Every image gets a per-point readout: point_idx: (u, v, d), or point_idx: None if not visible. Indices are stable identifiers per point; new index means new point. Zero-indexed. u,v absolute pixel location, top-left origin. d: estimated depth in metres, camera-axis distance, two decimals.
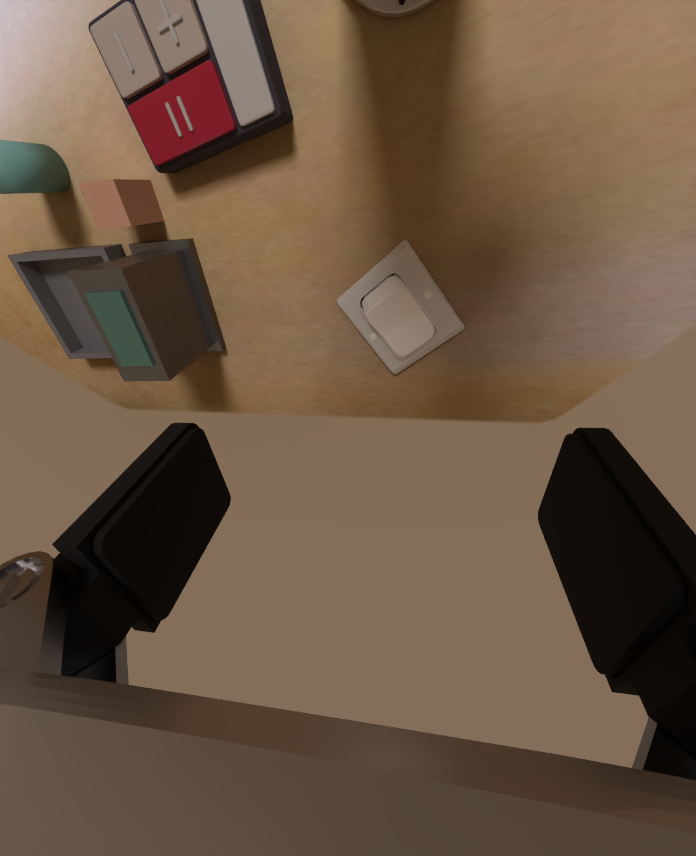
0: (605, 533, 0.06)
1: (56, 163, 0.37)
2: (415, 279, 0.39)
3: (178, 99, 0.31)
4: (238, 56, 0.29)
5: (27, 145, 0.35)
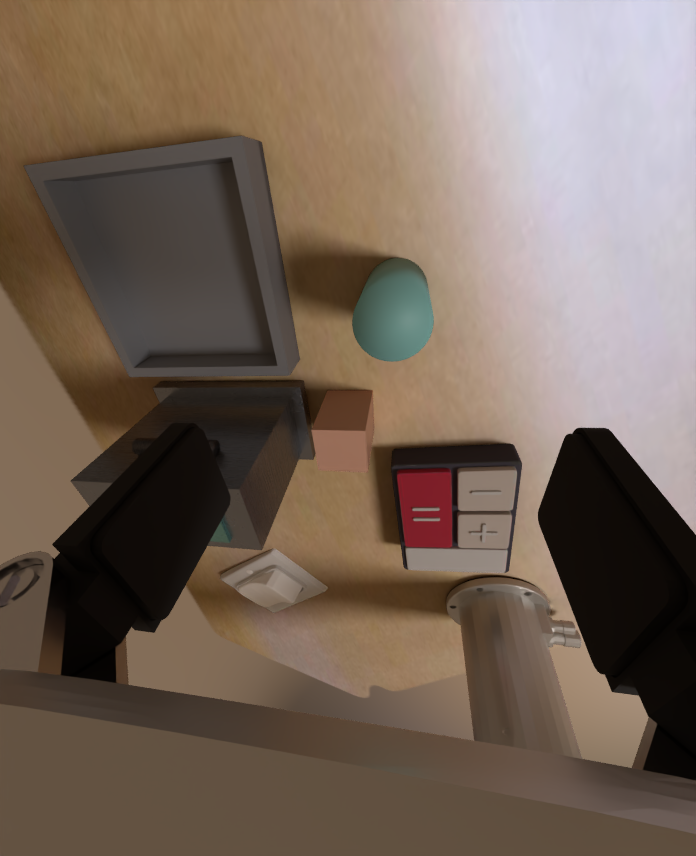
0: (605, 533, 0.06)
1: None
2: (301, 594, 0.50)
3: (437, 517, 0.32)
4: (445, 561, 0.35)
5: None
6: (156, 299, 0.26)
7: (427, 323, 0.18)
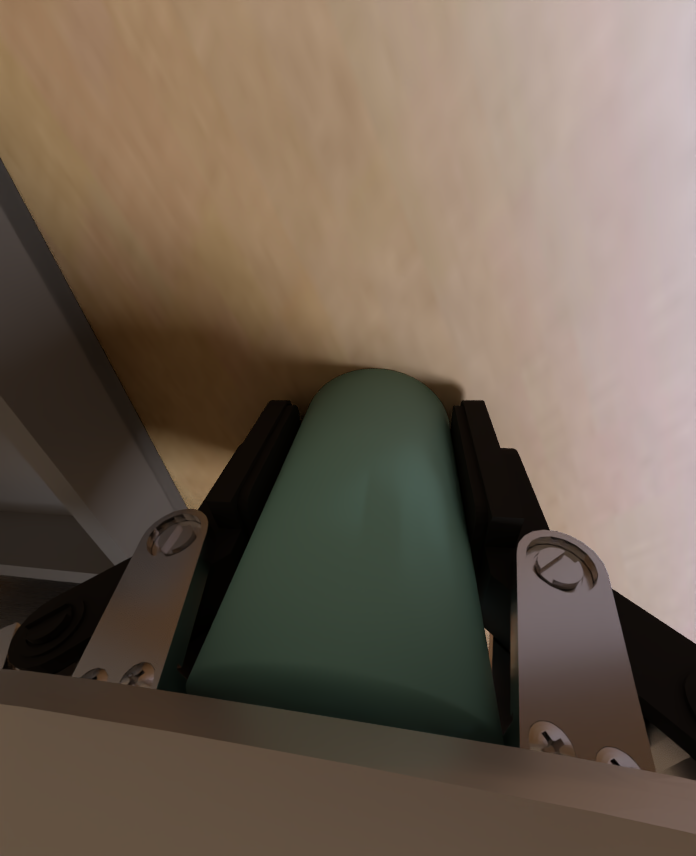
0: (462, 482, 0.07)
1: None
2: None
3: None
4: None
5: None
6: None
7: None
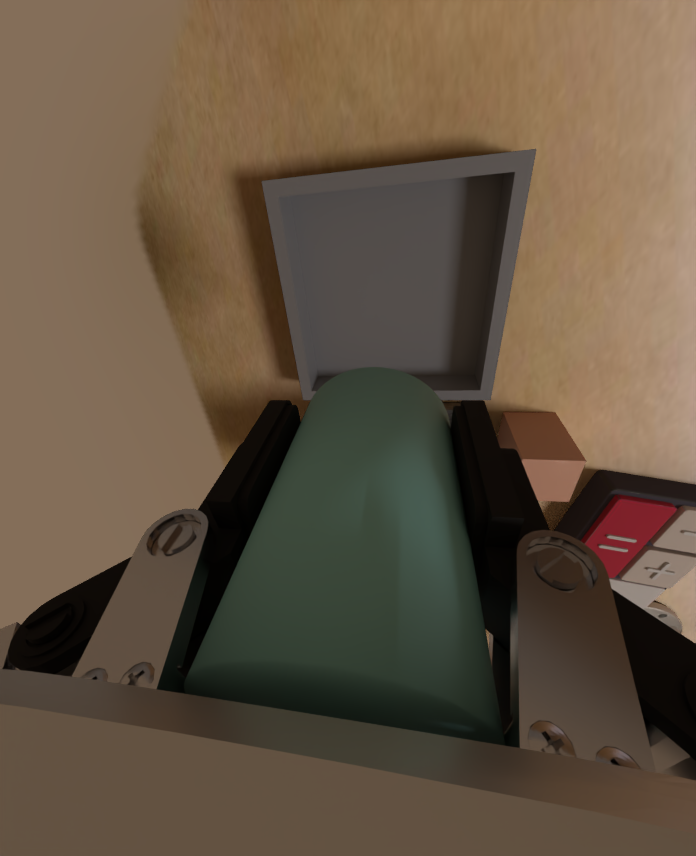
0: (462, 482, 0.07)
1: None
2: None
3: (625, 548, 0.30)
4: None
5: None
6: (344, 318, 0.25)
7: None
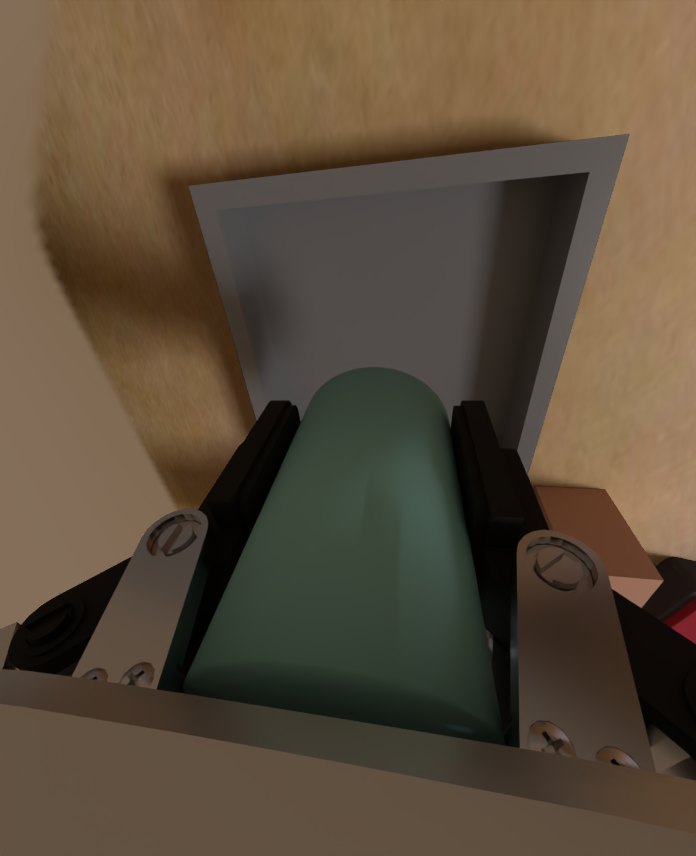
0: (462, 482, 0.07)
1: None
2: None
3: None
4: None
5: None
6: (324, 371, 0.18)
7: None
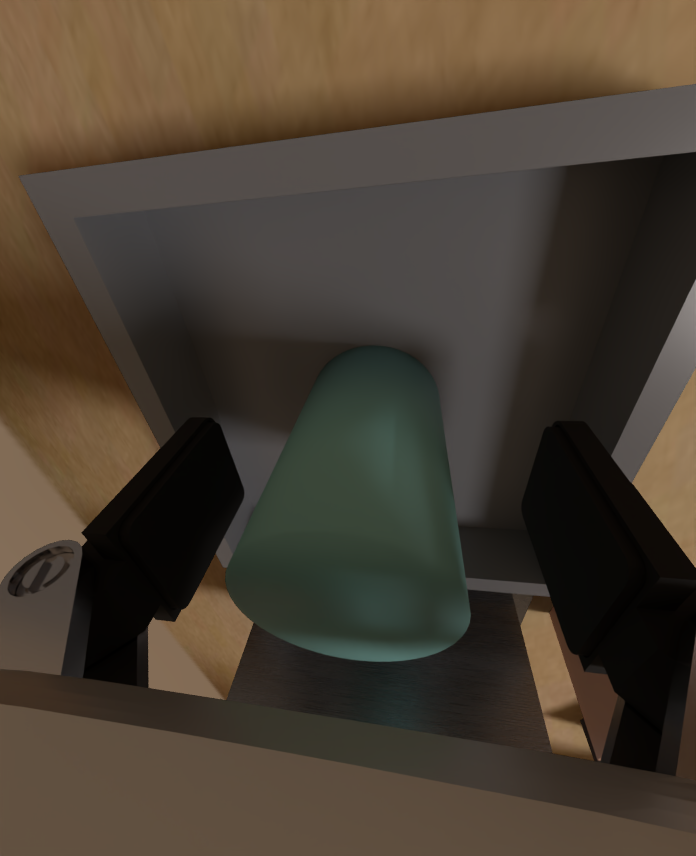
0: (577, 520, 0.06)
1: None
2: None
3: None
4: None
5: None
6: None
7: (449, 621, 0.06)
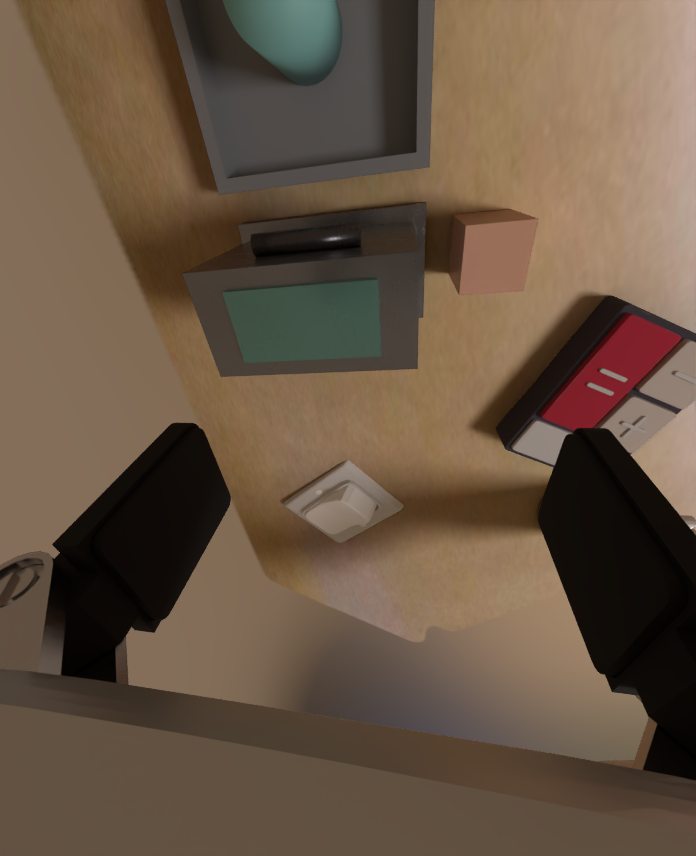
0: (605, 533, 0.06)
1: (311, 80, 0.20)
2: (373, 516, 0.46)
3: (611, 391, 0.28)
4: (559, 450, 0.32)
5: (329, 45, 0.18)
6: (256, 78, 0.21)
7: None
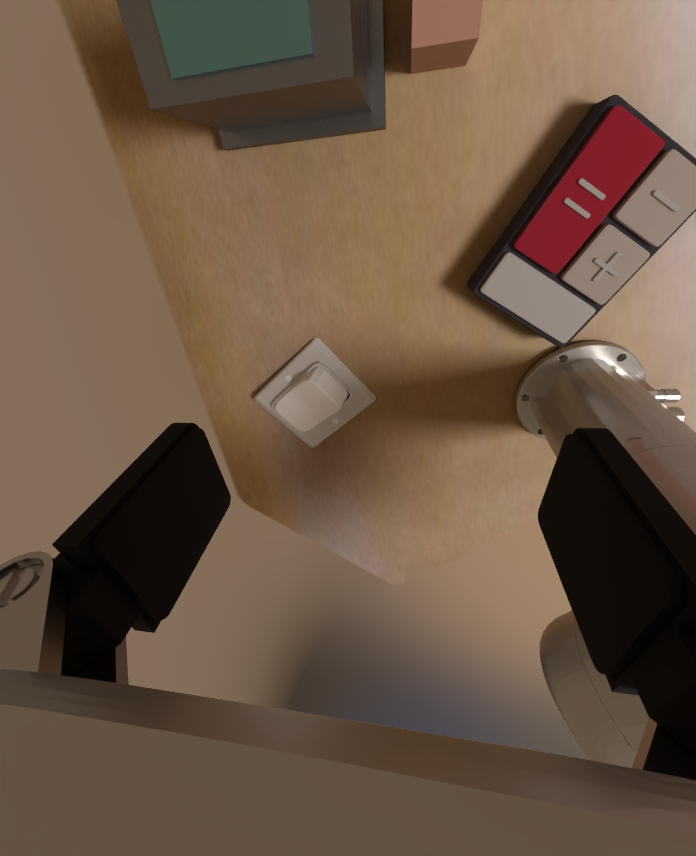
0: (605, 533, 0.06)
1: None
2: (346, 410, 0.44)
3: (587, 214, 0.26)
4: (528, 296, 0.30)
5: None
6: None
7: None
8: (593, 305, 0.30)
